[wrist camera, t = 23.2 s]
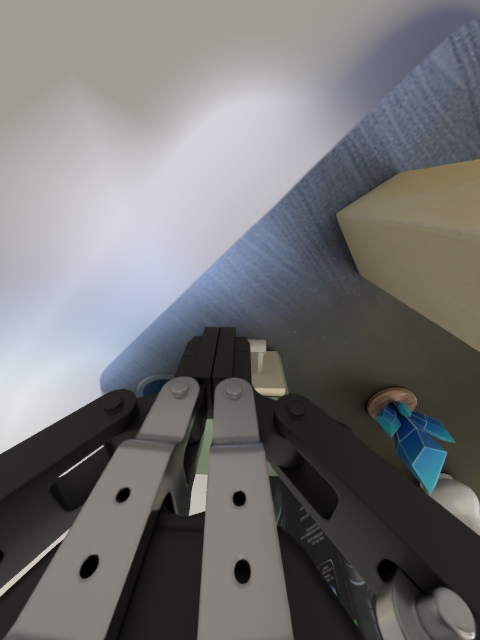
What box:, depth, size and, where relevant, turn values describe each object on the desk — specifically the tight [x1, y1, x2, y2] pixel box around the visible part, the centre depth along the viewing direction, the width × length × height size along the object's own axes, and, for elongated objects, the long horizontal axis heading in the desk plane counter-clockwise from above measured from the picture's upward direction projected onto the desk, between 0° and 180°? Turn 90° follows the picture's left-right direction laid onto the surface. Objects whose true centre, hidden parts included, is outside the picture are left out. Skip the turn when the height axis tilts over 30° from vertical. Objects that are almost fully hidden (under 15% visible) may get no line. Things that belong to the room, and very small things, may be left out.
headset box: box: [269, 422, 384, 640], centre depth 31 cm, size 22×12×26 cm, turn 151°
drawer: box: [247, 339, 285, 397], centre depth 29 cm, size 18×11×7 cm, turn 179°
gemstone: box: [367, 387, 455, 495], centre depth 30 cm, size 7×9×12 cm
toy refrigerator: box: [336, 159, 480, 352], centre depth 14 cm, size 8×7×21 cm
